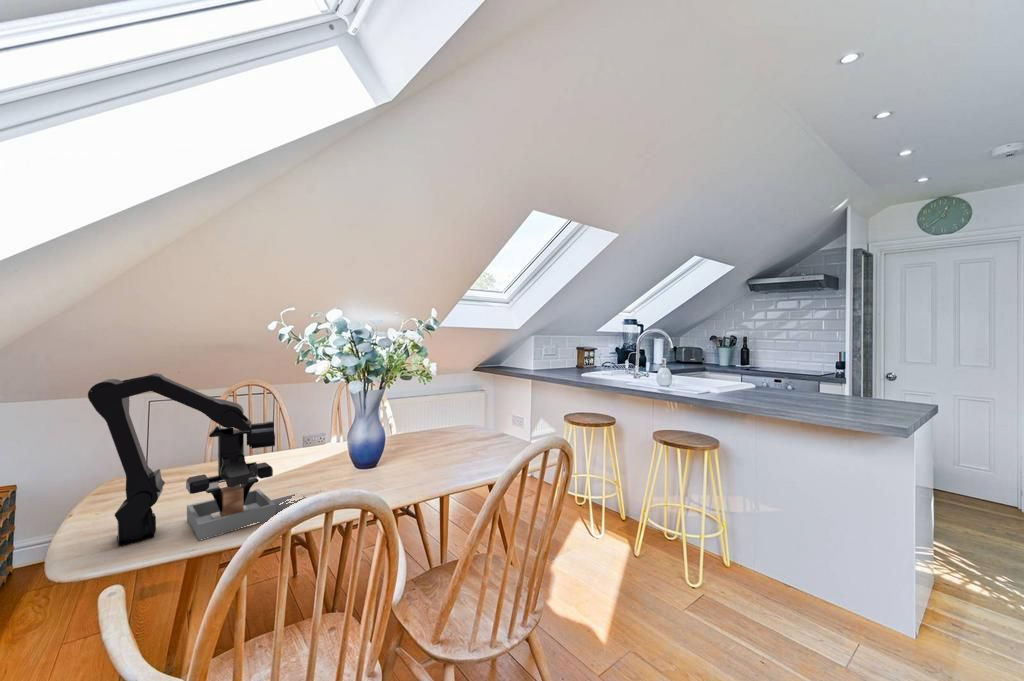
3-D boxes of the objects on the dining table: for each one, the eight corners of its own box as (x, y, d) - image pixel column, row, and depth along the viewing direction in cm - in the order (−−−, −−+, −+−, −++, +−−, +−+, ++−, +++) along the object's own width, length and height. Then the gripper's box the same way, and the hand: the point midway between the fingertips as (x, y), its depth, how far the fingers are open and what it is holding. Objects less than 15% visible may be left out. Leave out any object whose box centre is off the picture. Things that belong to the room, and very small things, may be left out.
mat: (274, 515, 117) (274, 513, 117) (263, 504, 124) (263, 502, 124) (312, 504, 125) (312, 502, 125) (299, 494, 132) (299, 492, 132)
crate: (198, 541, 103) (198, 524, 103) (187, 520, 114) (186, 505, 113) (275, 518, 115) (275, 504, 115) (258, 502, 126) (258, 488, 126)
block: (223, 519, 111) (223, 493, 111) (219, 514, 114) (219, 488, 114) (243, 514, 114) (243, 488, 114) (239, 509, 118) (238, 483, 117)
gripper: (194, 466, 101) (194, 530, 102) (279, 450, 115) (279, 507, 115) (185, 455, 109) (186, 515, 110) (266, 442, 123) (266, 495, 123)
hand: (231, 508), depth 114 cm, fingers closed on block, 4 cm apart
